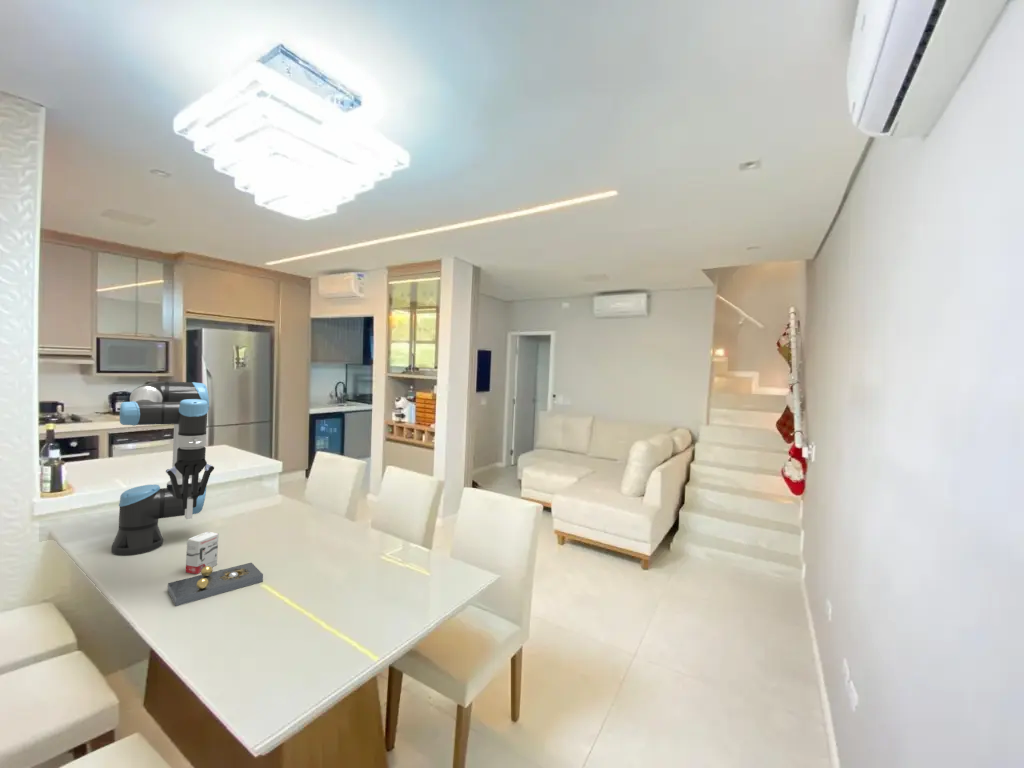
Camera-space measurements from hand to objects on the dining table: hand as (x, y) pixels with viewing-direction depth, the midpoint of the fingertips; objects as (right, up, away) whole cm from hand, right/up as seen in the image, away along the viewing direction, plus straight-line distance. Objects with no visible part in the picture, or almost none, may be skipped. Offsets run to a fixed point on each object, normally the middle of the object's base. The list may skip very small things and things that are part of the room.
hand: (188, 517), depth 143 cm
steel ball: (+12, -22, +5) cm, 25 cm away
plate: (+9, -23, +1) cm, 25 cm away
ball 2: (+9, -19, -6) cm, 22 cm away
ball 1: (+4, -19, +2) cm, 19 cm away
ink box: (-4, -22, +12) cm, 26 cm away
